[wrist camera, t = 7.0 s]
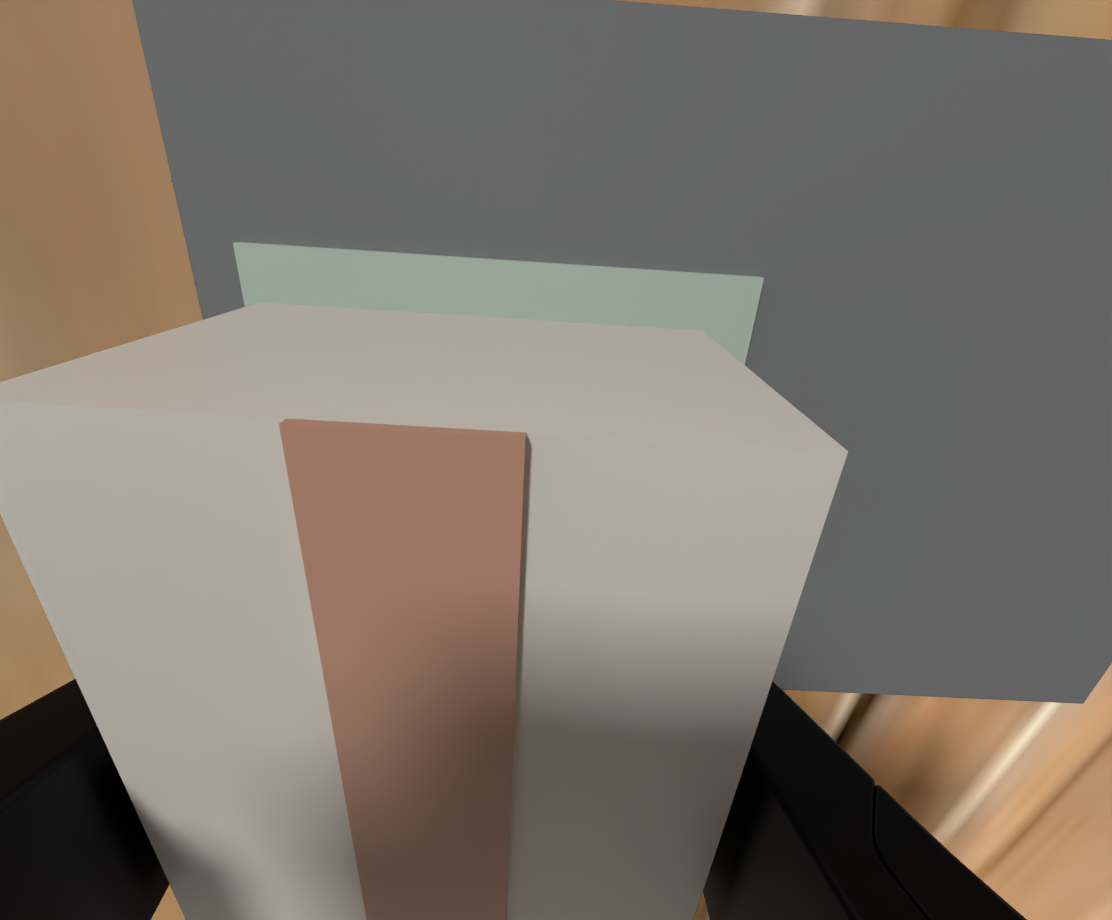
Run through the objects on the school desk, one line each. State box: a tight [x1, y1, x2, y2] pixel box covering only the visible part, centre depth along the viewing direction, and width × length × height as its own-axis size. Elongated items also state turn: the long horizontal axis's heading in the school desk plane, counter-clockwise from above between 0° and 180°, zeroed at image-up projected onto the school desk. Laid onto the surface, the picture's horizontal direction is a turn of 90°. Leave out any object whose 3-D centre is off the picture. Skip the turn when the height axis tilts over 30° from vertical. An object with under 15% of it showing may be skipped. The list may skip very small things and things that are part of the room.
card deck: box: [0, 302, 848, 920], centre depth 7 cm, size 9×6×4 cm, turn 176°
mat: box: [132, 0, 1112, 704], centre depth 12 cm, size 23×15×1 cm, turn 86°
